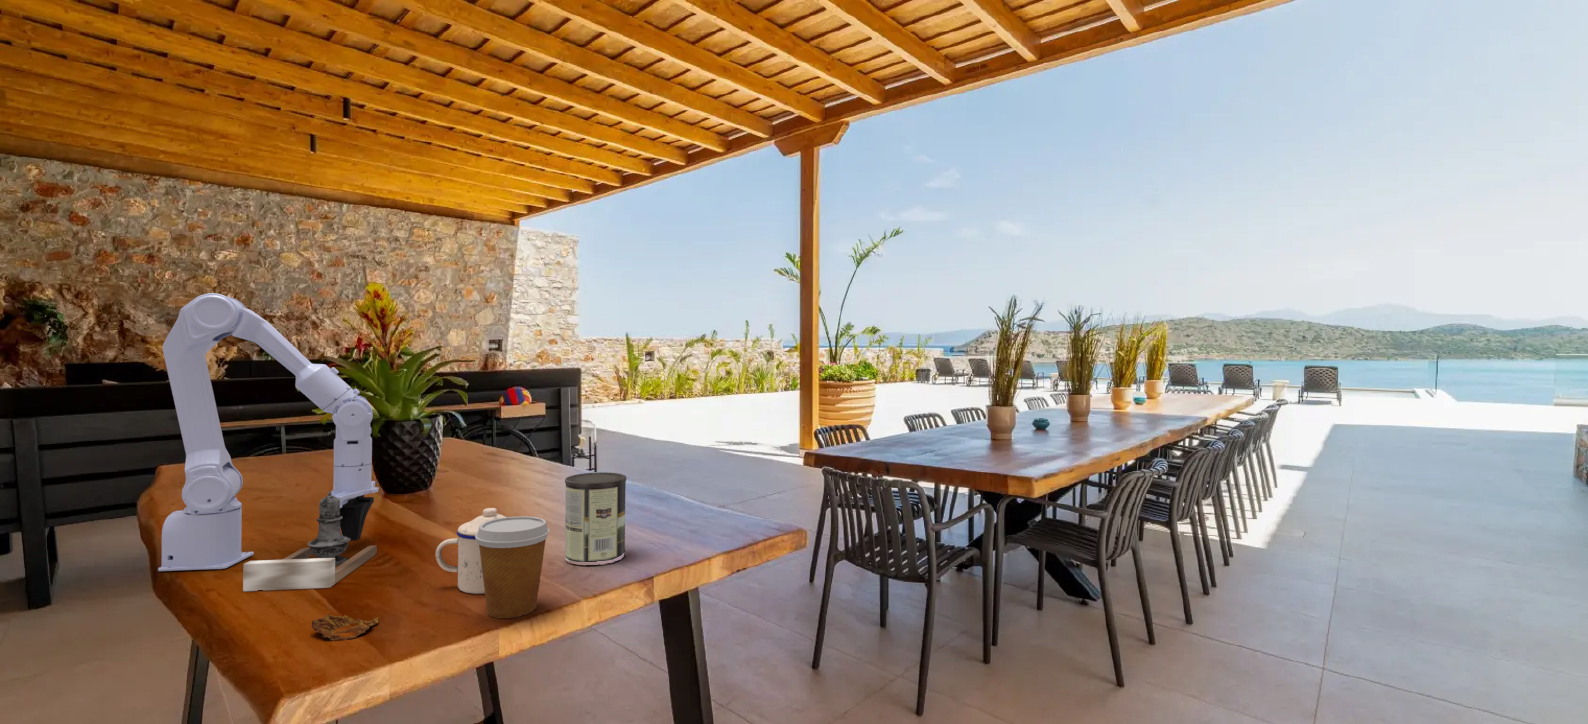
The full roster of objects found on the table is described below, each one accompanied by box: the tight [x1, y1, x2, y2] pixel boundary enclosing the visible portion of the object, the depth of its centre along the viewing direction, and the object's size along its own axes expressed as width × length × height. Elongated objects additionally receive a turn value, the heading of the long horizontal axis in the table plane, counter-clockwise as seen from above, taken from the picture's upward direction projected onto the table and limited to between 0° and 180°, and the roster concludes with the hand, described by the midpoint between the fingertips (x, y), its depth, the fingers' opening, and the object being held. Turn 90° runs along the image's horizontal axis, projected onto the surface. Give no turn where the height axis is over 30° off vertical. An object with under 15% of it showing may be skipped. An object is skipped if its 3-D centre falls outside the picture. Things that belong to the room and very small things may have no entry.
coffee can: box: [564, 471, 627, 563], centre depth 118 cm, size 10×10×14 cm
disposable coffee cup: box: [475, 515, 550, 619], centre depth 94 cm, size 10×10×12 cm
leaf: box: [311, 613, 380, 641], centre depth 86 cm, size 6×7×2 cm
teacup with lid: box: [435, 507, 507, 595], centre depth 103 cm, size 12×9×12 cm
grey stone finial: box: [307, 490, 351, 567], centre depth 113 cm, size 6×6×12 cm
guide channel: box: [242, 544, 378, 592], centre depth 108 cm, size 11×17×4 cm
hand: (352, 540), depth 121 cm, fingers closed
